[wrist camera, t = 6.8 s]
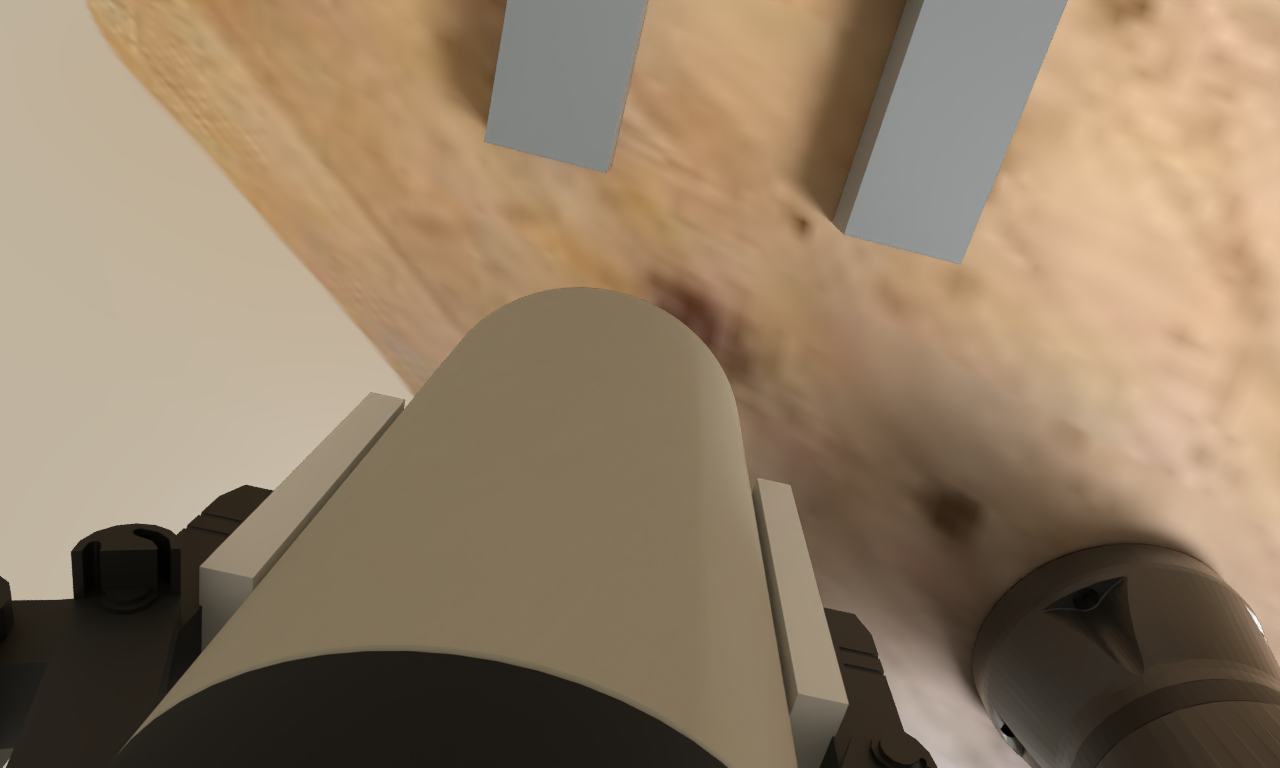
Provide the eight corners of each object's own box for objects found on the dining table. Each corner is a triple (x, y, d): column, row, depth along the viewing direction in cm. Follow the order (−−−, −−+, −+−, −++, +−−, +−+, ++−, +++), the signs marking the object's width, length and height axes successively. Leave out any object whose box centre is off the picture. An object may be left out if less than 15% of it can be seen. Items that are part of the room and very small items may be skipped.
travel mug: (760, 302, 19) (1310, 1868, 2) (716, 574, 22) (827, 2133, 5) (437, 266, 19) (-1203, 1546, 2) (436, 542, 22) (-322, 1984, 5)
